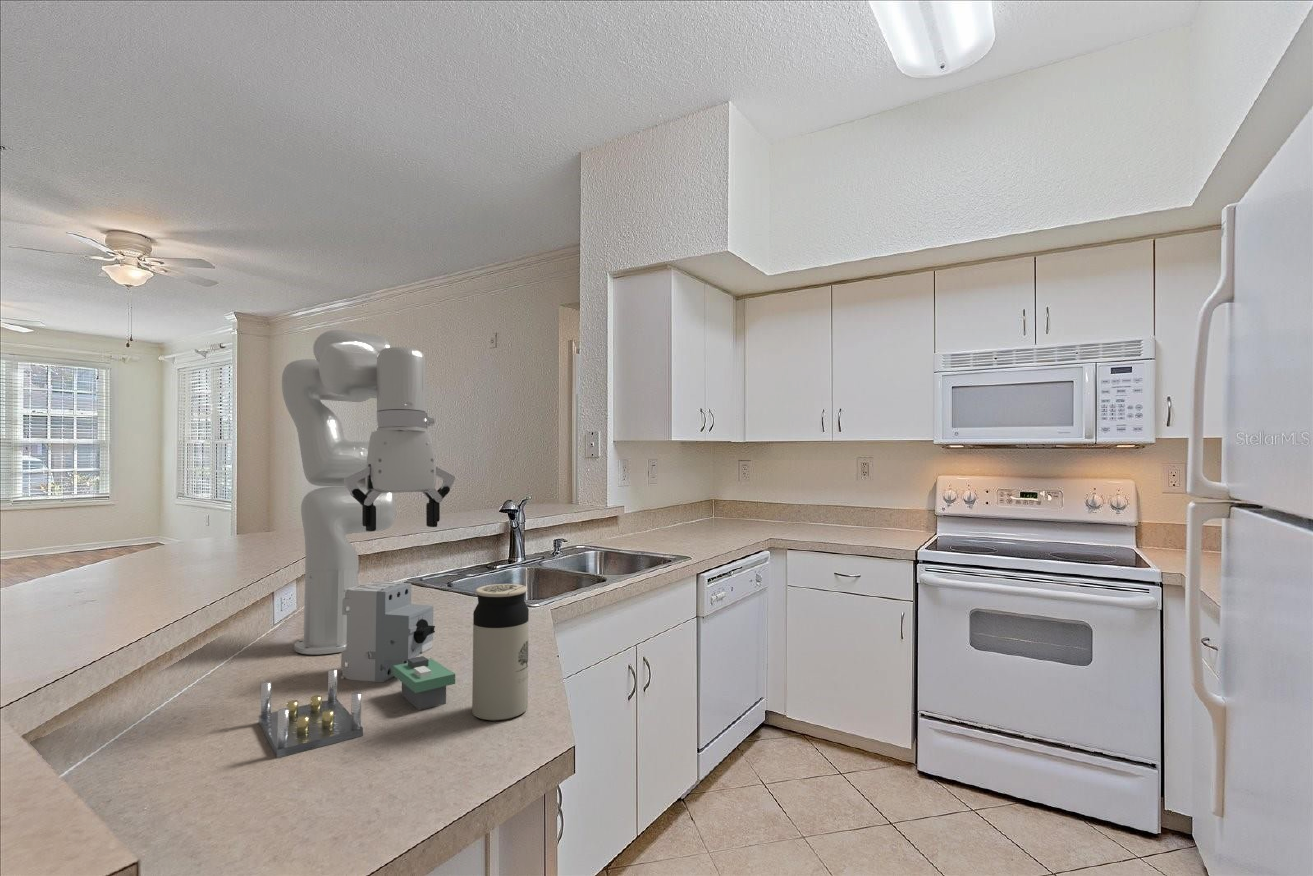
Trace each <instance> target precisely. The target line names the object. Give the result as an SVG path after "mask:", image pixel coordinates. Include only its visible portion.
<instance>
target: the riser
mask: <svg viewBox="0 0 1313 876" xmlns="http://www.w3.org/2000/svg"><path fill="white" fill-rule="evenodd" d="M401 696H402V697H403V698H404V699H406V700H407V701H408V702H410V704H412V705H413V706H414V707H416V708H417V709H418V711H421V710H426V709H429V708H435V707H437V706H441V705H445V704H447V686H444V687H439V688H435V689H431V690H426V691H422V692H418V693H415V692H414V691H412V690H411V689H410V688H409V687H407V686H406V685H405V684H404V683H402V682H401Z"/></svg>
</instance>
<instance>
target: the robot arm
mask: <svg viewBox="0 0 1313 876" xmlns="http://www.w3.org/2000/svg"><path fill="white" fill-rule="evenodd" d="M312 348H313V355H314V358H315V359H309V358H307V359H306V358H305V359H296V360H294V361H291V362H289V363H287V364H286V366H284V369H283V371H282V374H281V375H282V376H281V391H282V397H283V400H284V404H285V407H286V408H287V412H288V413H289V415H290V418H291V419H292V421H293V423H294V425H295V427H296V432H297V437H298V443H299V444H298V445H299V451H300V456H301V462H302V464H301V465H302V469H303V473H304V477H305V479H306V481H307V482H308V483H309V484H311V485H313V486H316V487H320V488H316V489H313V490H310V491H309V492H307V494H306V495H305V496H304V497H303V499H302V501H301V505H300V513H301V514H300V516H301V522H302V527H303V534H304V535H303V537H304V547H305V548H304V550H305V551H304V552H305V554H304V555H305V556H304V557H305V561H304V563H305V564H304V565H305V566H304V570H305V571H304V607H303V608H304V609H303V611H304V612H303V615H304V616H303V638H301V639H299V640H297V641H296V642H295V643H294V651H295V652H296V653H298V654H302V655H311V656H312V655H313V656H314V655H317V656H318V655H329V654H335V653H336V654H337V653H341V651H344V650H346V638H347V615H342V602H343V599H344V598H345V592H344V590H345V589H348V588H352V587H355V586H359V564H360V563H359V561H360V560H359V553H358V552H357V550H356V548H355V547H354V546H353V544H352V543H351V542H350V541H349V540H348V539H347V536H346V535H350V534H360V533H362V534H363V533H373V532H382V531H386V530H388V529H390V528H391V527H392V526H393V525H394V523H395V521H396V516H397V503H396V498H395V497H396V496H395V494H396V493H422V494H423V495H424V496H425V498H427V500H428V502H427V503H426V504H425V505H426V508H425V509H426V510H425V511H426V512H425V513H426V517H425V518H426V519H425V520H426V521H425V522H426V526H427V527H428V528H437V527H438V522H440V520H441V519H440V518H441V515H440V512H441V510H440V505H441V502H442V501H443V499H444V498H445V497H446V496H447V495H448V494H449V493H450V491H451V488H452V486H453V485H454V482H455V480H456V477H455V475H454V474H452V473H450V472H447V471H445V470H443V469H441V468H440V467H438V466H436V458H435V450H434V449H435V448H434V445H433V439H432V435H431V432H430V431H427V429H428V427H431V426H432V427H433V426H434V425H435V421H436V420H435V418H434V417H429V416H428V413H427V377H426V376H427V375H426V374H427V368H426V367H427V364H426V363H427V362H426V356H425V354H424V353H423V352H422V351H420V350H419V349H416V348H413V347H407V346H406V347H404V346H391V344H390V343H389V341H388V340H387V339H386V338H384V337H383V336H381V335H376V334H371V333H370V334H369V333H365V332H364V333H362V332H357V331H348V330H341V329H338V330H337V329H333V330H329V331H328V330H327V331H325V332H323V333H321V334H320V335H319V336H318V337H317V338H316V339H315V341H314V343H313V347H312ZM370 399H376V430H374V431H371V433H370V436H369V441H350V440H347V439H346V438H345V434H344V429H343V424H342V422H341V420H340V419H339V418H338V416H337V415H336V413H334V412H333V410H331V409H330V408H329V407H328V406H326V405H325V404H324V403H323V402H322V401H332V402H333V401H335V402H350V403H351V402H352V403H362V402H366V401H369V400H370ZM321 400H322V401H321ZM437 478H439V479H441V480H442V484H441V486H440V487H439V488H438V489H436V488H435V487H436V485H437ZM348 610H349V607H347V606H346V611H348Z"/></svg>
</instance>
